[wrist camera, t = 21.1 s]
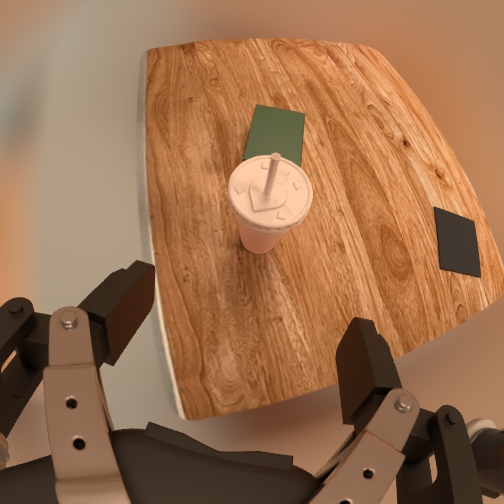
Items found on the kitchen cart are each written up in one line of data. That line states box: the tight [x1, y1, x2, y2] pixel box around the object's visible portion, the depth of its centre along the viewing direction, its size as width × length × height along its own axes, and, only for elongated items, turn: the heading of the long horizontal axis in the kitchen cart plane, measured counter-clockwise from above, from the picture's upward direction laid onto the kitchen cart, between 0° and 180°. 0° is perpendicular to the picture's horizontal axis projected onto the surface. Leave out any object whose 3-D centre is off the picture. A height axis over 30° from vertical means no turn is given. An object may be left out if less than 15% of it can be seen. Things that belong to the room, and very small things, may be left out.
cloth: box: [434, 207, 481, 277], centre depth 31 cm, size 9×9×1 cm
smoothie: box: [228, 153, 313, 254], centre depth 23 cm, size 6×6×14 cm
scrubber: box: [243, 105, 305, 168], centre depth 31 cm, size 9×6×4 cm, turn 171°
